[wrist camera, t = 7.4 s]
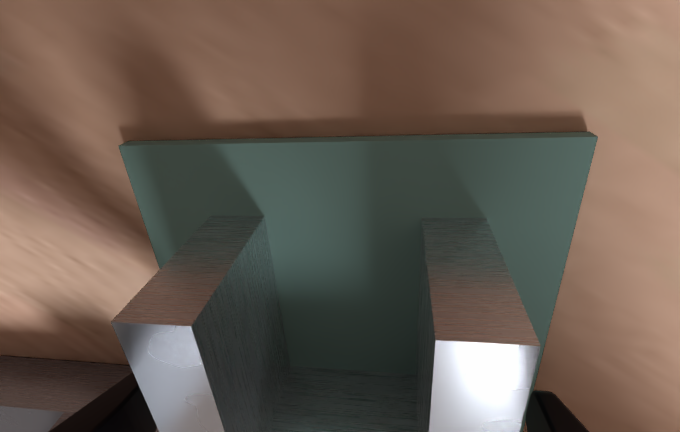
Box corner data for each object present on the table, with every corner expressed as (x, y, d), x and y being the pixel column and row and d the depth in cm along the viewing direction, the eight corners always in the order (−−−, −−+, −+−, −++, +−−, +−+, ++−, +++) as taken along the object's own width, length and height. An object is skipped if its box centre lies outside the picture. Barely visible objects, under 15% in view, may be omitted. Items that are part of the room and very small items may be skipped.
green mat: (589, 131, 8) (597, 136, 8) (513, 443, 13) (516, 455, 13) (128, 141, 10) (118, 145, 10) (216, 415, 15) (211, 425, 15)
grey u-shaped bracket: (486, 218, 9) (541, 345, 6) (461, 410, 12) (486, 567, 9) (210, 215, 10) (110, 321, 7) (253, 393, 13) (202, 528, 10)
